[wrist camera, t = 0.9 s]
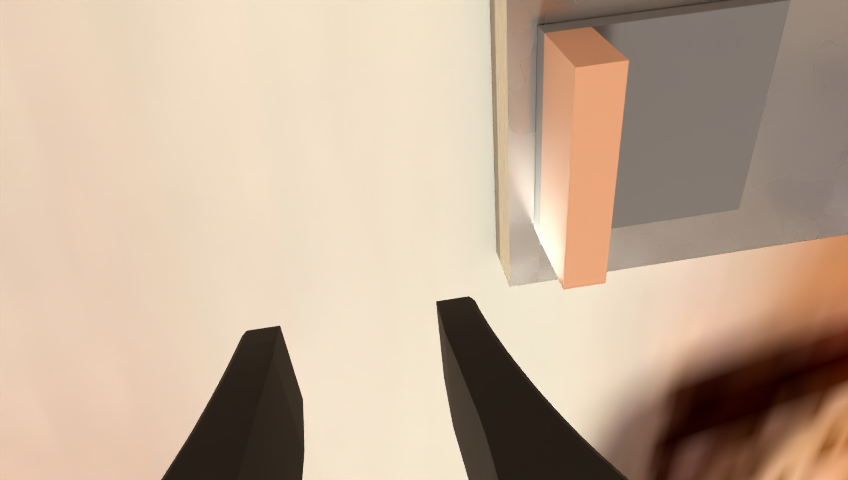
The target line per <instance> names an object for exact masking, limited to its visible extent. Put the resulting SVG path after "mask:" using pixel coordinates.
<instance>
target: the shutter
mask: <svg viewBox="0 0 848 480" xmlns="http://www.w3.org/2000/svg"><path fill="white" fill-rule="evenodd" d="M790 1H791V0H727V1H720V2H712V3H705V4H697V5H690V6H682V7H675V8H667V9H660V10H652V11H645V12H637V13H630V14H622V15H614V16H607V17H599V18H592V19H584V20H577V21H569V22H562V23H554V24H547V25H539V26H538V45H537V102H536V159H535V216H534V229H535V231H536V233H537V235H538V237H539V240H540V242H541V244H542V246H543V248H544V250H545V252H546V254H547V256H548V258H549V260H550V263H551V265H552V267H553V269H554V271H555V273H556V275H557V277H558V279H559V281H560V283H561V285H562V288H563V289H570V288H576V287H582V286H589V285H595V284H602V283H605V282H606V272H607V263H608V254H609V244H610V235H611V229H613V228H620V227H626V226H633V225H639V224H646V223H653V222H659V221H666V220H673V219H679V218H686V217H692V216H699V215H706V214H712V213H719V212H725V211H732V210H739V207H740V203H741V199H742V195H743V191H744V187H745V183H746V179H747V175H748V171H749V167H750V163H751V159H752V155H753V151H754V147H755V143H756V139H757V135H758V131H759V126H760V122H761V118H762V114H763V110H764V106H765V102H766V98H767V94H768V90H769V86H770V82H771V78H772V74H773V70H774V66H775V62H776V58H777V54H778V50H779V46H780V42H781V38H782V34H783V29H784V25H785V21H786V17H787V13H788V9H789V5H790Z"/></svg>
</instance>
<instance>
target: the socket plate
mask: <svg viewBox="0 0 848 480" xmlns="http://www.w3.org/2000/svg"><path fill="white" fill-rule="evenodd" d="M720 1H727V0H490V21H491V59H492V97H493V134H494V172H495V210H496V248H497V254H498V257H499V259H500V262H501V265H502V267H503V270H504V273H505V275H506V278H507V281H508V283H509V286H510V287H511V286H517V285H523V284H530V283H536V282H543V281H549V280H556V279H558V277H557V275H556V273H555V271H554V269H553V267H552V265H551V263H550V260H549V258H548V256H547V254H546V252H545V250H544V248H543V246H542V244H541V242H540V240H539V237H538V235H537V233H536V231H535V229H534V216H535V159H536V102H537V45H538V26H539V25H547V24H554V23H562V22H569V21H577V20H584V19H592V18H599V17H607V16H614V15H622V14H630V13H637V12H645V11H652V10H660V9H667V8H675V7H682V6H690V5H697V4H705V3H712V2H720ZM847 234H848V0H791V1H790V5H789V9H788V13H787V17H786V21H785V25H784V29H783V34H782V38H781V42H780V46H779V50H778V54H777V58H776V62H775V66H774V70H773V74H772V78H771V82H770V86H769V90H768V94H767V98H766V102H765V106H764V110H763V114H762V118H761V122H760V126H759V131H758V135H757V139H756V143H755V147H754V151H753V155H752V159H751V163H750V167H749V171H748V175H747V179H746V183H745V187H744V191H743V195H742V199H741V203H740V207H739V210H732V211H725V212H719V213H712V214H706V215H699V216H692V217H686V218H679V219H673V220H666V221H659V222H653V223H646V224H639V225H633V226H626V227H620V228H613V229H611V235H610V244H609V254H608V263H607V272H608V271H614V270H621V269H627V268H633V267H640V266H646V265H653V264H659V263H666V262H672V261H679V260H685V259H692V258H698V257H705V256H711V255H718V254H724V253H731V252H737V251H743V250H750V249H756V248H763V247H769V246H776V245H782V244H789V243H795V242H802V241H808V240H815V239H821V238H828V237H834V236H841V235H847Z"/></svg>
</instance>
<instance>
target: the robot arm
mask: <svg viewBox="0 0 848 480" xmlns="http://www.w3.org/2000/svg"><path fill="white" fill-rule="evenodd" d="M436 304H437V314H438V323H439V333H440V343H441V352H442V362H443V372H444V379H445V385H446V390H447V396H448V401H449V406H450V412H451V417H452V422H453V427H454V431H455V434H456V438H457V441H458V444H459V448H460V451H461V455H462V458H463V462H464V465H465V468H466V472H467V475H468V479H469V480H628V479H627V478H626V477H625V476H624V475H623V474H622V473H620V472H619V471H618V470H617V469H616V468H615V467H614V466H613V465H611V464H610V463H609V462H608V461H607V460H606V459H605V458H604V457H603V456H601V455H600V454H599V453H598V452H597V451H596V450H595V449H594V448H593V447H592V446H591V445H590V444H589V443H588V442H587V441H586V440H585V439H584V438H583V437H582V436H581V435H580V434H579V433H578V432H577V431H576V430H575V429H574V428H573V427H572V426H571V425H570V424H569V423H568V422H567V421H566V420H565V419H564V418H563V417H562V416H561V415H560V414H559V413H558V411H557V410H556V409H555V408H554V407H553V406H552V405H551V404H550V403H549V402H548V400H547V399H546V398H545V397H544V396H543V395H542V394H541V393H540V391H539V390H538V389H537V388H536V387H535V385H534V384H533V383H532V382H531V381H530V379H529V378H528V377H527V376H526V374H525V373H524V372H523V371H522V369H521V368H520V367H519V366H518V364H517V363H516V362H515V361H514V359H513V358H512V357H511V355H510V354H509V353H508V351H507V350H506V349H505V347H504V346H503V345H502V343H501V342H500V340H499V339H498V338H497V336H496V335H495V333H494V332H493V330H492V329H491V327H490V326H489V324H488V323H487V321H486V319H485V318H484V316H483V315H482V313H481V311H480V309H479V308H478V306H477V304H476V302H475V300H473V299H472V298H470V297H462V298H456V299H449V300H443V301H436ZM303 462H304V419H303V399H302V395H301V392H300V389H299V386H298V382H297V379H296V376H295V373H294V369H293V366H292V363H291V360H290V357H289V353H288V350H287V347H286V344H285V340H284V337H283V334H282V331H281V327H280V326H275V327H268V328H262V329H256V330H249V331H246V332H245V333H244V335H243V336H242V338H241V340H240V342H239V344H238V346H237V348H236V350H235V352H234V354H233V356H232V358H231V360H230V362H229V364H228V366H227V368H226V370H225V372H224V374H223V376H222V378H221V380H220V382H219V384H218V386H217V388H216V390H215V391H214V393H213V395H212V397H211V399H210V400H209V402H208V404H207V406H206V408H205V409H204V411H203V413H202V415H201V416H200V418H199V420H198V422H197V423H196V425H195V427H194V429H193V430H192V432H191V434H190V435H189V437H188V439H187V440H186V442H185V443H184V445H183V447H182V448H181V450H180V451H179V453H178V454H177V456H176V458H175V459H174V461H173V462H172V464H171V465H170V467H169V469H168V470H167V472H166V473H165V475H164V476H163V478H162V479H161V480H302V474H303Z"/></svg>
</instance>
